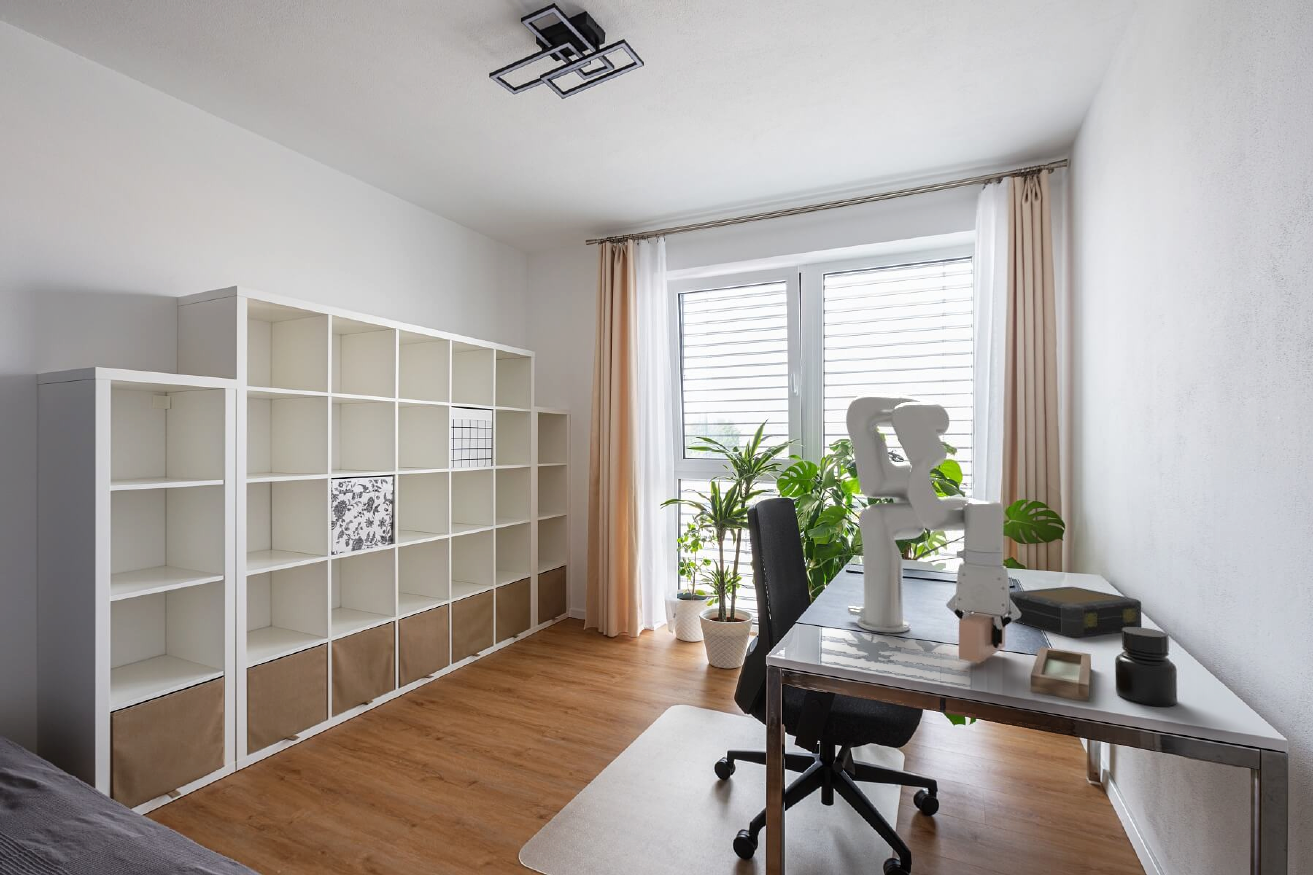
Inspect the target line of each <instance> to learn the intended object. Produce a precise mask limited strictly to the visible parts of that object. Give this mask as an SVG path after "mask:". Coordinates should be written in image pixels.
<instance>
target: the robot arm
mask: <svg viewBox="0 0 1313 875" xmlns="http://www.w3.org/2000/svg"><path fill="white" fill-rule="evenodd" d="M845 423H846V424H845V425H846V429H847V432H848V433H847V434H848V437H849V438H850V442H851V445H852V449H853V454H854V461H855V467H856V468H855V469H856V473H857V480H858V484H859V489H860V492H861V493H862V494H863V495H864V496H865V497H866V498H870V499H892V501H893V502H883V503H882V502H878V503H872V504H869V505H867V506H865V507H864V508H863V509H862V510H861V512H860V514H859V516H858V526H859V532H860V536H861V537H860V538H861V540H862V541H861V542H862V556H863V557H862V558H863V559H862V561H863V563H862V564H863V606H860V607H857V606H853V605H849V606H848V608H847V612H848V614H850V616H851V615H852V616H858V617H859V618H858V619H857V626H859V627H860V628H862V629H864V630H868V631H871V632H879V633H887V634H888V633H895V634H896V633H903V632H907V631H909V630H910V623H909V622H908V621H906V620H904V606H903V605H904V604H903V603H904V592H903V590H904V586H903V585H904V584H903V583H904V582H903V581H904V580H903V577H904V576H903V571H904V570H903V568H904V567H903V557H902V552H901V550H900V549H899V548H900V547H898V545H897V543H896V541H898V540H911V539H916V538H919V537H920V536H921V535H922V534H924V532H925V529H927V530H929V531H932V532H950V531H954V532H956V531H963V549H962V550H956V558H960V559H962V560H963V561H962V562H960V563H959V564H958V570H957V578H956V584H955V585H956V589H955V594H954V595H953V596H952V598H950V600H948V602H946V606H945V607H947V609H948V610H950V611H951V612H953V613H954V615H955V616H956V617H957V618H958V619H959V620H960V619H962V618H964V617H966V616H968V615H971V614H973V613H980V614H987V615H993V616H994V620H995V623H996V625H995V628H994V638H993V647H994V648H998V646H999V644H1002V628H1004V627H1005V628H1006V626H1008V625H1009V624H1010V623H1012V622H1013V621H1014V620H1016V619H1018V618H1020V617H1021V612H1020V611H1019V610H1018V608H1017V607H1016V606H1015V604H1014V603H1013V602H1012V600H1011V599H1010V593H1011V590H1010V589H1011V588H1010V580H1009V573H1008V569H1007V566H1005V565H1004V524H1005V523H1004V521H1005V520H1004V519H1005V518H1004V516H1005V514H1004V507H1003V505H1002V504H1001V503H1000V502H997V501H995V500H994V501H993V500H978V499H976V498H973V497H967V496H942V497H941V496H940V497H939V496H938V494H937V492H936V490H935V489H934V487H933V484H932V481H931V471H932V470H934V469H936V468H937V467H938V466H940V465H941V464H943V462H945V460H946V459H947V456H948V453H947V450H946V447H945V446H944V444H943V442H942V441H941V438H940V437H941V436H943V435H944V434H945V433H947V431H948V429H949V426H950V417H949V414H948V412H947V411H946V409H945V407H943V406H942V405H940V404H939V403H936V402H932V401H929V400H924V399H920V398H917V397H913V396H909V395H902V394H887V393H886V394H885V393H884V394H883V393H870V394H869V393H866V394H862V395H859V396H857V397H855V398H853V400H852V401H851V403H850V404H849V406H848V407H847V412H846V418H845ZM877 427H883V428H884V427H885V428H886V427H887V428H893V430H894V432H895V435H896V437H897V439H898V441H899V443H900V445H901V448H902V450H903V452H904V455H905V456H906V459H907V460H908V462H909V464H908V463H905V462H901V461H900V462H899V461H898V462H897V461H893V462H892V461H891V460H890V456H889V450H888V445H887V443H886V441H885V439H884V437H883V436H882V434H881V433H880V432H879V431H878V430H877ZM1009 610H1010V611H1011V612H1012V614H1010V615H1008V612H1009ZM1004 615H1005V618H1004V619H1003V617H1002V616H1004Z"/></svg>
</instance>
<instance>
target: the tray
mask: <svg viewBox="0 0 1313 875" xmlns="http://www.w3.org/2000/svg"><path fill="white" fill-rule="evenodd" d="M1091 656H1092V655H1091V653H1085V652H1079V651H1078V652H1077V651H1071V650H1066V649H1065V650H1064V649H1058V648H1052V647H1046V646H1045V647H1044V646H1040V647H1039V650H1038V652H1037V655H1036V658H1035V662H1034V664H1033V667H1032V669H1031V673H1030V692H1033V693H1039V694H1044V695H1049V696H1055V697H1061V698H1065V699H1072V700H1077V701H1082V702H1088V703H1089V702H1090V688H1091V673H1092V662H1091V661H1092V659H1091Z"/></svg>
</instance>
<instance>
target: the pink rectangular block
mask: <svg viewBox="0 0 1313 875" xmlns="http://www.w3.org/2000/svg"><path fill="white" fill-rule="evenodd" d="M1002 617H1003V619H1004V618H1005V617H1006V615H1004V616H1002ZM995 625H996V623H995V620H994V616H993V615H987V614H980V613H974V612H972V613H971V615H968V616H966V617H964V618H962V619H959V620H958V659H959V660H963V661H967V662H971V663H975V664H980V663H982V662H984V661H986V660H987V659H988V658H990V657H992V656H993V655H994V654H996V653H997V652H999V651H1001V650H1002V649H1004V648H1005V647H1006V626H1005V627H1004V628H1002V644H999V646H998V648H994V647H993V638H994V628H995Z"/></svg>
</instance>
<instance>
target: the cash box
mask: <svg viewBox="0 0 1313 875" xmlns="http://www.w3.org/2000/svg"><path fill="white" fill-rule="evenodd" d="M1010 599H1011V600H1012V602H1013V603H1014V604H1015V606H1016V607H1017V608H1018V610H1019V611H1020V612H1021V617H1020V618H1018V619H1016V620H1014V621H1015V622H1014V623H1017V622H1018V623H1017V624H1021V623H1024V624H1026V625H1025V626H1028V625H1029V626H1028V627H1031V626H1034V627H1033V628H1035V627H1036V628H1035V629H1040V630H1042V629H1043V631H1046V632H1049V631H1050V633H1053V634H1057V635H1060V634H1061V636H1065V637H1068V638H1073V639H1079V638H1087V637H1088V638H1089V637H1094V636H1103V635H1109V634H1110V635H1111V634H1117V633H1122V628H1124V627H1140V628H1143V627H1142V602H1141V601H1140V600H1138V599H1136V598H1132V597H1128V596H1124V595H1123V596H1122V595H1118V594H1117V595H1116V594H1112V593H1107V592H1103V591H1096V590H1092V589H1087V588H1082V587H1078V586H1059V587H1051V588H1041V589H1040V588H1039V589H1031V590H1030V589H1028V590H1019V591H1010ZM1010 614H1012V612H1011V611H1010V610H1009V612H1008V613H1007V616H1008V615H1010ZM1024 624H1023V625H1024ZM1102 634H1103V635H1102Z"/></svg>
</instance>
